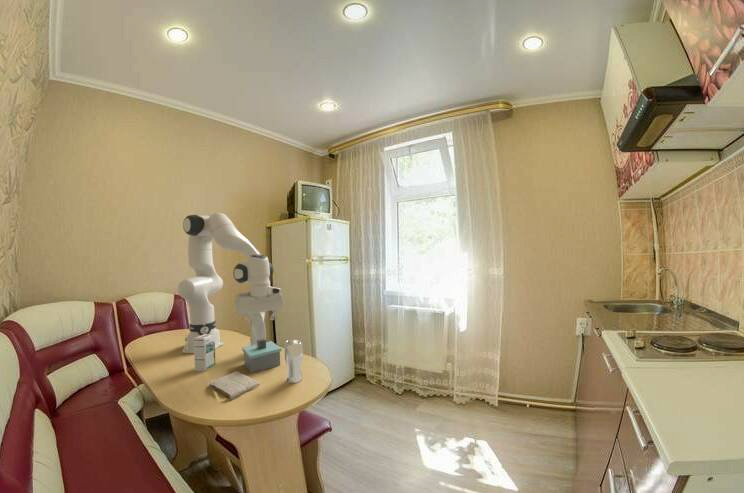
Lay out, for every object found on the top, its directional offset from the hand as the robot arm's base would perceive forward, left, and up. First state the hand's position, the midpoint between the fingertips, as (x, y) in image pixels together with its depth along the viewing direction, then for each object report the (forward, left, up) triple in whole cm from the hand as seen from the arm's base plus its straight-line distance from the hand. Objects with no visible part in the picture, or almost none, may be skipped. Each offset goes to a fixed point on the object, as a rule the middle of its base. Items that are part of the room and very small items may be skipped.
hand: (261, 321), depth 124 cm
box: (0, 0, -20) cm, 20 cm away
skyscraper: (-15, +3, -20) cm, 26 cm away
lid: (0, 0, -14) cm, 14 cm away
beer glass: (+22, +6, -20) cm, 30 cm away
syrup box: (-15, -20, -20) cm, 32 cm away
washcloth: (+12, -14, -21) cm, 27 cm away
